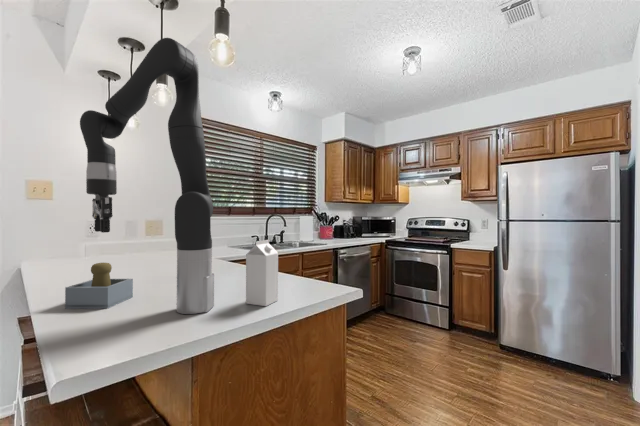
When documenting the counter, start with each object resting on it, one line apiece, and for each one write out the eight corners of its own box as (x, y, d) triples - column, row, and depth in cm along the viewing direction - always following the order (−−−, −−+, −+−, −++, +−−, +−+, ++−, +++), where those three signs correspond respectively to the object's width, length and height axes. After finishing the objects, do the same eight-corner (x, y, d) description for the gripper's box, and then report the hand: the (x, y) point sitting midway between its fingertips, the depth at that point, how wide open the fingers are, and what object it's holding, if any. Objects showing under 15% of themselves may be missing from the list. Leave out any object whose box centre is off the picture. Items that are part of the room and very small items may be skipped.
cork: (100, 302, 90) (100, 264, 90) (83, 301, 91) (83, 264, 91) (118, 296, 96) (118, 261, 96) (101, 295, 97) (102, 261, 97)
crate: (132, 297, 100) (132, 278, 100) (107, 308, 88) (107, 287, 88) (95, 297, 99) (95, 278, 99) (65, 308, 87) (65, 287, 87)
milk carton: (245, 304, 92) (245, 241, 93) (258, 298, 99) (259, 239, 99) (265, 306, 90) (266, 242, 90) (278, 300, 96) (278, 240, 96)
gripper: (122, 177, 91) (122, 232, 91) (110, 181, 101) (110, 230, 101) (91, 175, 86) (91, 233, 86) (82, 179, 96) (82, 231, 96)
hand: (102, 231), depth 94 cm, fingers open, 8 cm apart
